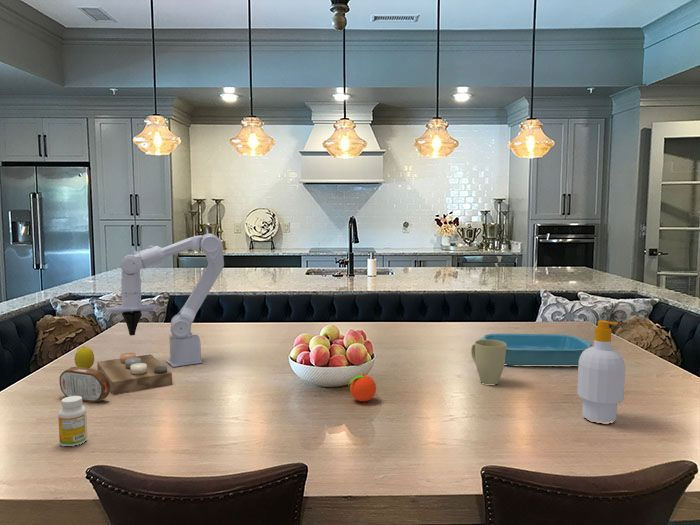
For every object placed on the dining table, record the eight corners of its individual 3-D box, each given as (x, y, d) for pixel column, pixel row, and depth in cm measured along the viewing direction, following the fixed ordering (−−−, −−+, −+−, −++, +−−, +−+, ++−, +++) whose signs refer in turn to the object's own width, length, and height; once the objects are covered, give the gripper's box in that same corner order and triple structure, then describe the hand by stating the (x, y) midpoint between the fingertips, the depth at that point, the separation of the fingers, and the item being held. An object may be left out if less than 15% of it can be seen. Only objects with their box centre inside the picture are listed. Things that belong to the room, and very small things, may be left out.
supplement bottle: (66, 437, 121) (64, 394, 120) (91, 436, 122) (89, 394, 121) (55, 447, 116) (53, 403, 115) (81, 447, 116) (79, 402, 115)
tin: (111, 401, 144) (110, 370, 144) (102, 405, 141) (101, 373, 141) (67, 394, 149) (66, 364, 148) (57, 398, 146) (56, 367, 146)
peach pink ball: (134, 368, 172) (133, 351, 172) (137, 371, 169) (137, 354, 168) (119, 370, 170) (118, 353, 169) (122, 373, 166) (121, 357, 166)
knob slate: (139, 373, 167) (139, 356, 166) (143, 377, 163) (142, 360, 162) (124, 375, 164) (123, 359, 164) (127, 379, 160) (126, 362, 160)
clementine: (354, 407, 140) (354, 380, 139) (341, 399, 146) (341, 373, 145) (380, 402, 144) (381, 376, 143) (368, 394, 150) (368, 369, 149)
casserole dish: (484, 369, 176) (485, 347, 175) (473, 351, 198) (474, 331, 197) (602, 371, 173) (603, 349, 173) (578, 353, 196) (579, 333, 195)
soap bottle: (619, 431, 126) (625, 327, 123) (572, 422, 131) (576, 322, 129) (624, 417, 134) (629, 320, 132) (579, 408, 140) (584, 315, 138)
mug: (508, 380, 163) (509, 340, 162) (502, 389, 154) (503, 348, 153) (471, 375, 168) (472, 336, 167) (463, 384, 159) (464, 344, 158)
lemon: (87, 374, 167) (85, 348, 167) (71, 373, 169) (69, 347, 168) (98, 369, 173) (97, 344, 172) (83, 368, 174) (82, 343, 173)
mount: (151, 364, 178) (150, 350, 177) (172, 384, 158) (171, 368, 158) (97, 372, 169) (97, 357, 169) (112, 394, 149) (112, 377, 149)
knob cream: (145, 379, 161) (144, 362, 160) (148, 383, 157) (148, 365, 157) (129, 382, 158) (128, 364, 158) (132, 386, 155) (132, 368, 154)
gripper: (109, 295, 166) (110, 339, 168) (158, 292, 174) (158, 334, 176) (104, 292, 172) (105, 335, 173) (152, 290, 180) (153, 330, 181)
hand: (132, 334), depth 175 cm, fingers closed
